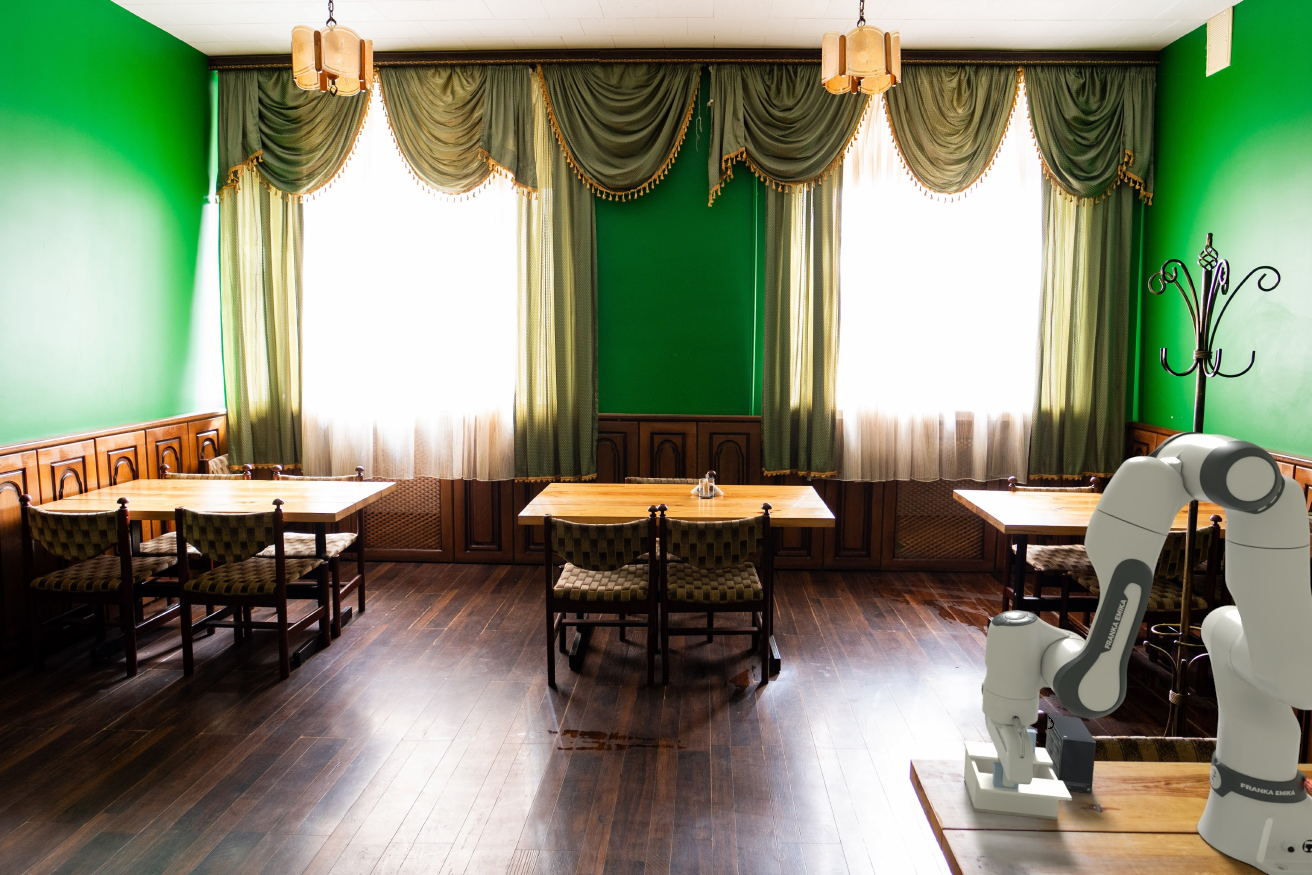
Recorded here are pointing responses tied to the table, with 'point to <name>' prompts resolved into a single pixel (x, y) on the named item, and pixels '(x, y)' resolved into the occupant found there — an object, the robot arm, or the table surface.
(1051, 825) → the table surface
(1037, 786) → the lid panel near
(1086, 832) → the table surface
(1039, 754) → the lid panel far
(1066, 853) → the table surface
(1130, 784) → the table surface
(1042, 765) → the carton
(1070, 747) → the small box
